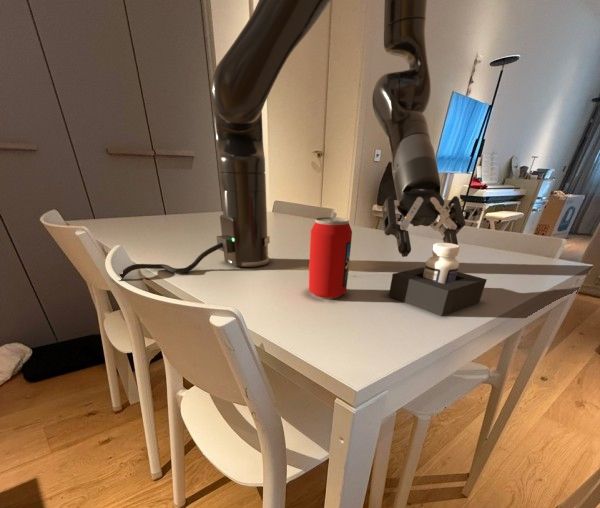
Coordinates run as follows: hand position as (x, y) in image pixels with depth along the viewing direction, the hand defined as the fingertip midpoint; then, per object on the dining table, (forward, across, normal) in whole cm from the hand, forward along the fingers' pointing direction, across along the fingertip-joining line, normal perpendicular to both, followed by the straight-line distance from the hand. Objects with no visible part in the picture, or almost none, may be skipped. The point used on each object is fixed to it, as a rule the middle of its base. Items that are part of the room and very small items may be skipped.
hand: (429, 253), depth 59 cm
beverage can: (+4, -18, +5) cm, 19 cm away
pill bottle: (+8, 0, +2) cm, 8 cm away
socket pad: (+8, 0, +2) cm, 8 cm away
